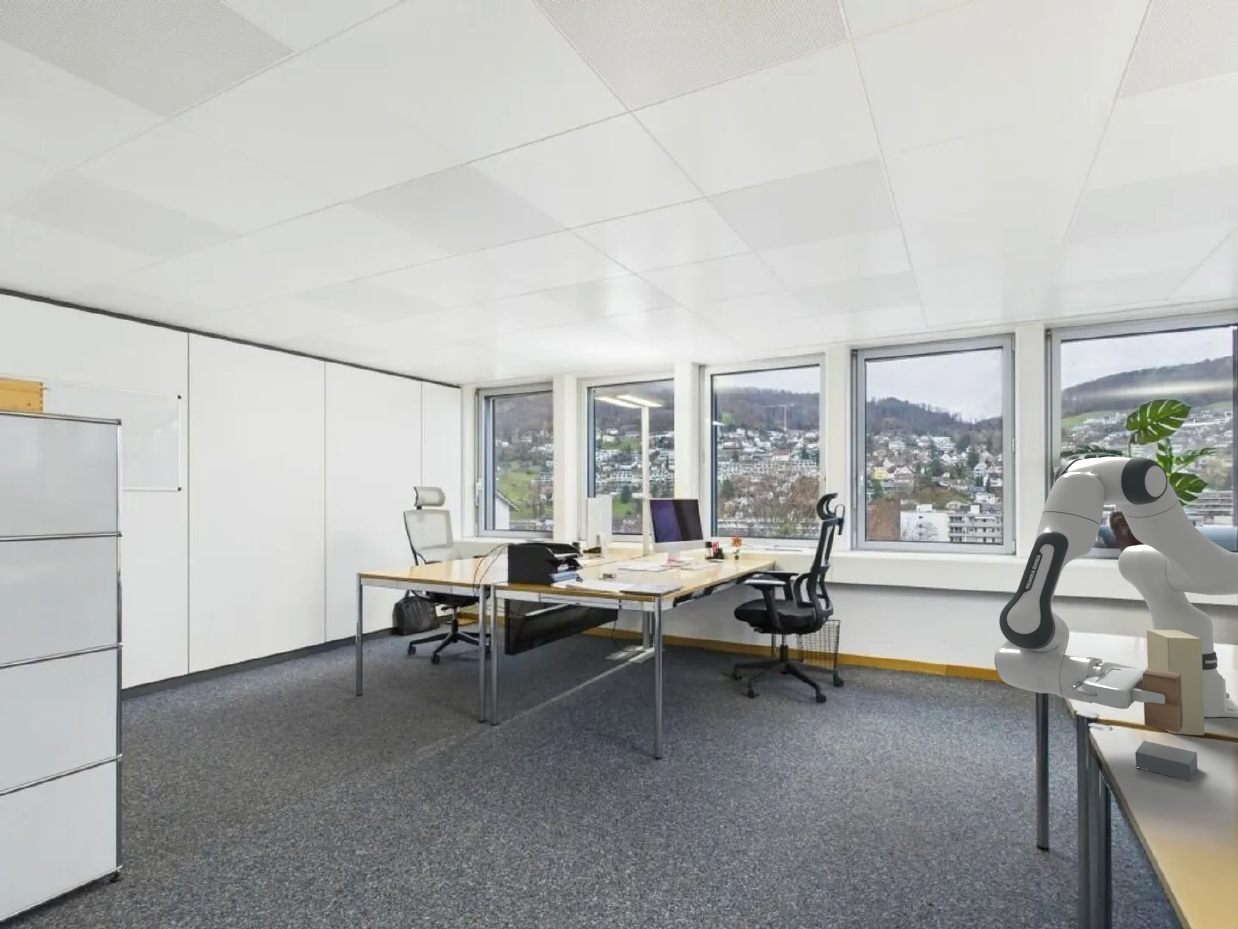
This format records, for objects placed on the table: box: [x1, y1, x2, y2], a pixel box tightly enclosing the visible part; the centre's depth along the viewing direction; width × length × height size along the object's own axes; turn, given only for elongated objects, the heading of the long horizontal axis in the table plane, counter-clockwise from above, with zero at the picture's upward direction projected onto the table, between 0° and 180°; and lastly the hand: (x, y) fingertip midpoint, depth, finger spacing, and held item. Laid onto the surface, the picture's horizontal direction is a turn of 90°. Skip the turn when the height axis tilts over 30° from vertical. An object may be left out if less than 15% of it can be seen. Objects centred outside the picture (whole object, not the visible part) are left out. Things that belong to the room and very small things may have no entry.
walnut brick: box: [1143, 668, 1183, 732], centre depth 125 cm, size 5×5×10 cm
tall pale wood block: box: [1146, 629, 1205, 736], centre depth 145 cm, size 8×7×21 cm
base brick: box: [1134, 740, 1198, 782], centre depth 125 cm, size 8×8×3 cm
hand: (1168, 695), depth 125 cm, fingers closed on walnut brick, 5 cm apart
